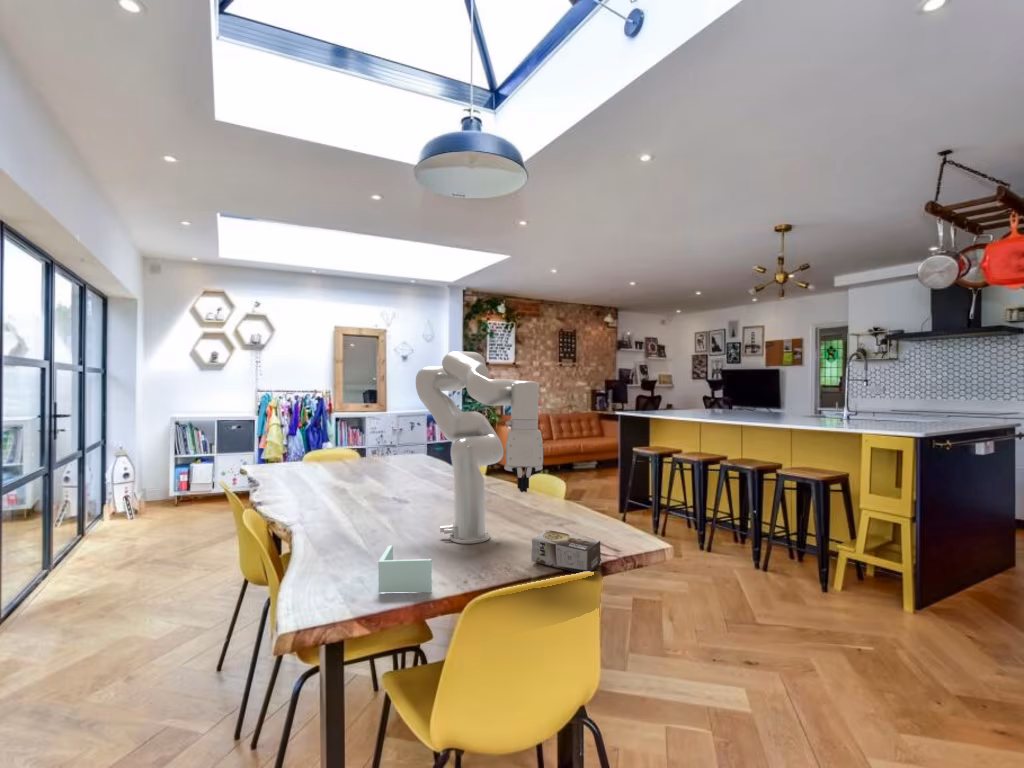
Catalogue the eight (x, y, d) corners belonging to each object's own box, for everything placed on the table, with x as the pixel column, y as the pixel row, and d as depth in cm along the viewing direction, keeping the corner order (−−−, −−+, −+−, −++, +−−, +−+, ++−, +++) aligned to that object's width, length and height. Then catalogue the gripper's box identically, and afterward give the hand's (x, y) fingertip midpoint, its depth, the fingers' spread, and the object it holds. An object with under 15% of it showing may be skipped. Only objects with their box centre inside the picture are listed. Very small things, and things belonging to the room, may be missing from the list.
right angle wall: (431, 592, 117) (430, 560, 117) (378, 594, 116) (378, 561, 116) (436, 573, 129) (436, 544, 129) (388, 575, 128) (388, 545, 128)
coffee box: (530, 562, 134) (587, 576, 126) (531, 538, 134) (587, 551, 125) (547, 551, 142) (601, 564, 133) (547, 528, 142) (601, 540, 133)
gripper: (499, 426, 135) (498, 494, 136) (553, 426, 138) (552, 493, 138) (495, 423, 143) (494, 488, 143) (547, 423, 145) (546, 487, 145)
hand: (523, 490), depth 141 cm, fingers closed
